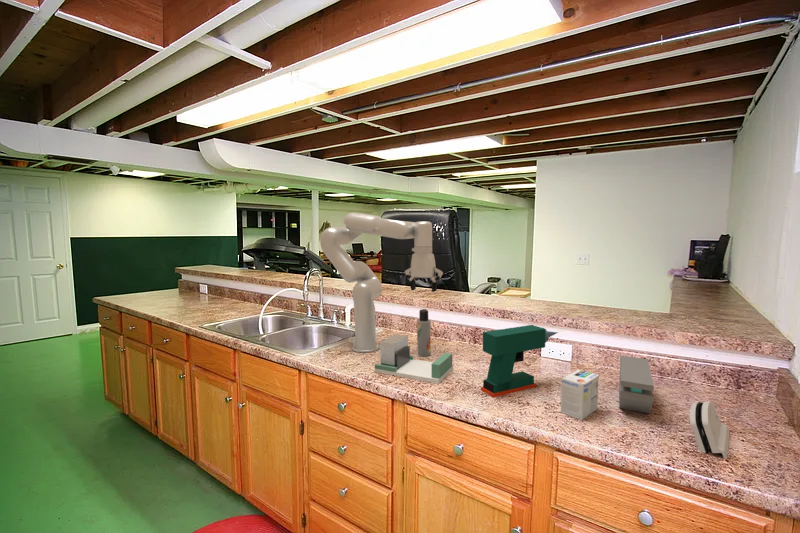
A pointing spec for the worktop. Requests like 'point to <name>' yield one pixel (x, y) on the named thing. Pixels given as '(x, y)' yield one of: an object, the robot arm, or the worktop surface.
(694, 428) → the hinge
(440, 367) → the frame
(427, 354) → the lotion bottle
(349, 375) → the worktop surface
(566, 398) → the light bulb box
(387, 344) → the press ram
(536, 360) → the worktop surface
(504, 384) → the power tool
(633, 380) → the gray lidded box
